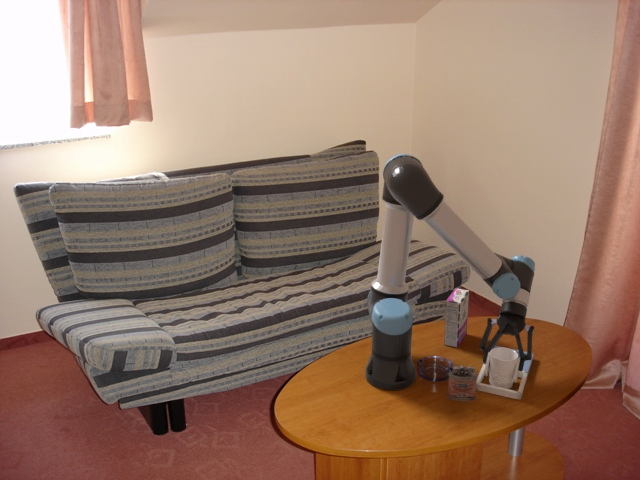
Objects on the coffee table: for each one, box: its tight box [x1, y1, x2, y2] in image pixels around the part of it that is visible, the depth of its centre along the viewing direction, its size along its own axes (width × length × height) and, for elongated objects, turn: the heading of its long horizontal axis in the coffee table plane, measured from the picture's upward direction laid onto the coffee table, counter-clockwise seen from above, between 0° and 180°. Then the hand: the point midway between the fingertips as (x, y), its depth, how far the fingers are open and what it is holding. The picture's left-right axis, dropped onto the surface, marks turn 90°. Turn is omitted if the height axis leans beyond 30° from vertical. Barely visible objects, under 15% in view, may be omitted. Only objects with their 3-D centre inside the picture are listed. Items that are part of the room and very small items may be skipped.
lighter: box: [446, 364, 479, 402], centre depth 182 cm, size 8×3×10 cm, turn 82°
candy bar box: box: [443, 287, 470, 348], centre depth 213 cm, size 11×5×16 cm, turn 153°
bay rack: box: [476, 345, 535, 401], centre depth 195 cm, size 13×25×2 cm, turn 155°
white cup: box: [488, 346, 518, 389], centre depth 189 cm, size 8×8×10 cm
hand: (500, 377), depth 186 cm, fingers closed on white cup, 8 cm apart
